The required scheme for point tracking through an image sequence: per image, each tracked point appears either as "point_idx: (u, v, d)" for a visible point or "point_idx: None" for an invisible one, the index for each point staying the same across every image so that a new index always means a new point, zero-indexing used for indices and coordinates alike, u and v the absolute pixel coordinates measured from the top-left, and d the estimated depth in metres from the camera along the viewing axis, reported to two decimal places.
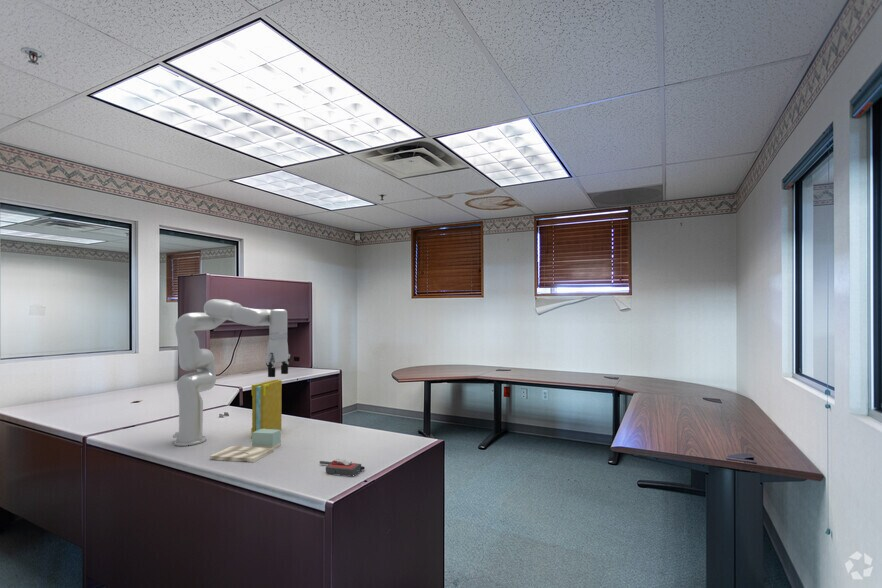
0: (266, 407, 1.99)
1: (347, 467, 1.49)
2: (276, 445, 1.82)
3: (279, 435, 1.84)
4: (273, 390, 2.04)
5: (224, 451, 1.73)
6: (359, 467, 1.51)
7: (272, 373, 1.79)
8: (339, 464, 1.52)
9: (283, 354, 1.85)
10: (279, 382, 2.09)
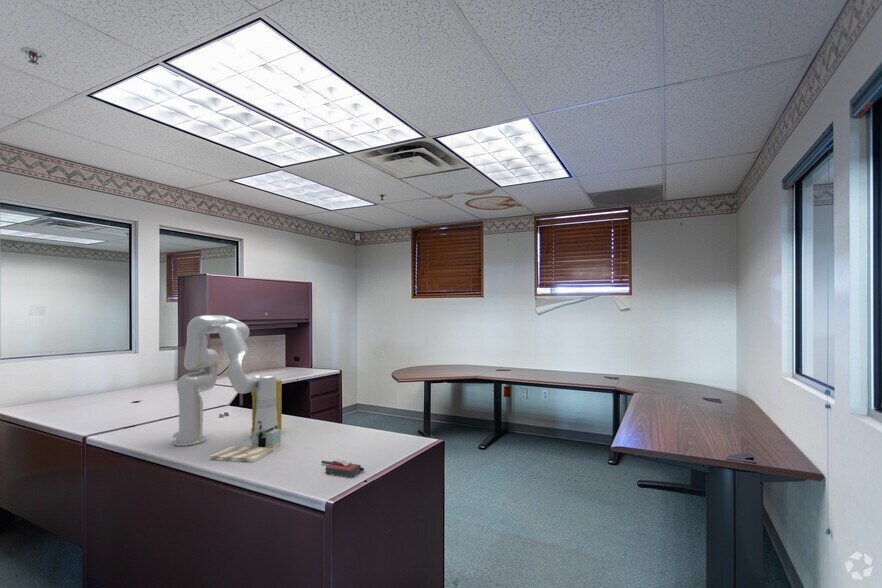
0: None
1: (346, 468, 1.48)
2: (276, 445, 1.82)
3: (279, 435, 1.84)
4: None
5: (224, 451, 1.73)
6: (358, 468, 1.50)
7: (262, 443, 1.79)
8: (339, 464, 1.51)
9: (271, 421, 1.83)
10: (279, 382, 2.09)
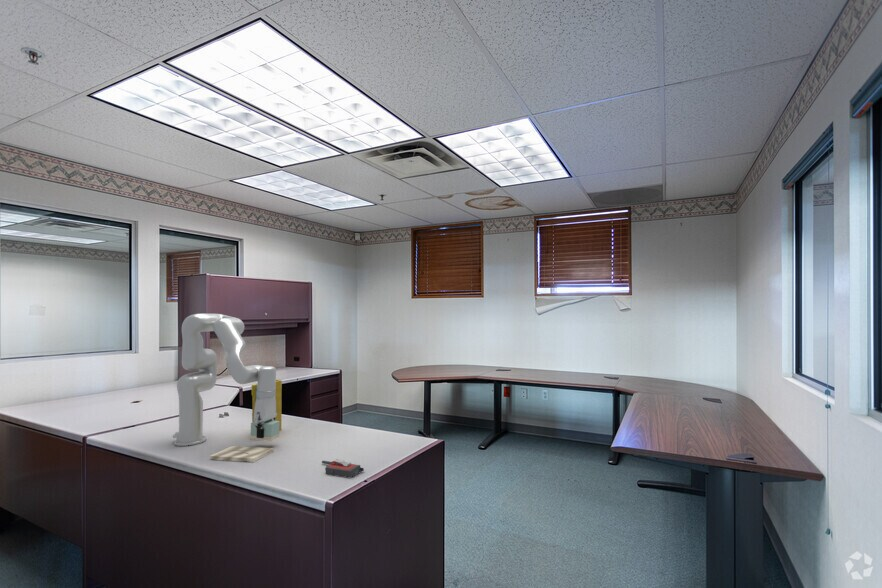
0: None
1: (345, 468, 1.48)
2: (275, 436, 1.82)
3: (278, 426, 1.85)
4: None
5: (224, 451, 1.73)
6: (358, 468, 1.50)
7: (261, 434, 1.79)
8: (338, 465, 1.51)
9: (270, 412, 1.84)
10: (279, 382, 2.09)
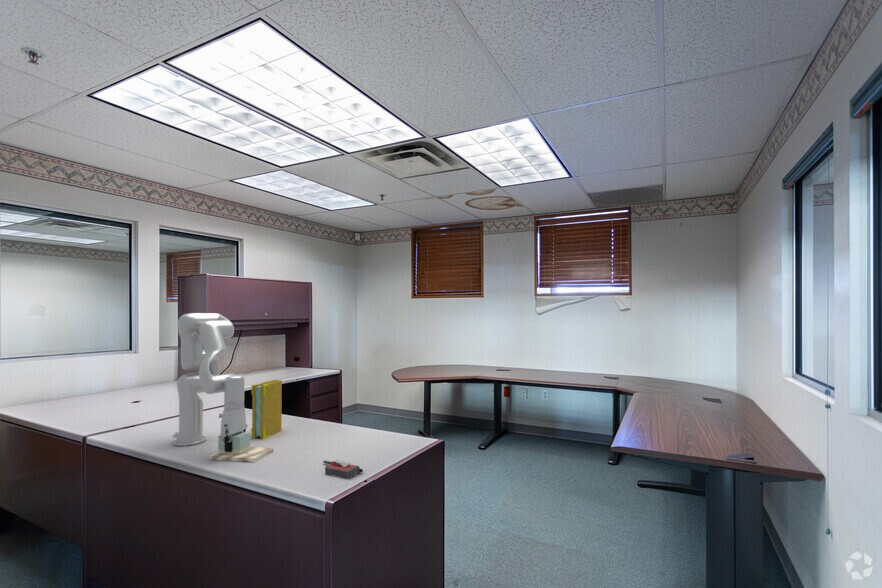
0: (266, 407, 1.99)
1: (344, 469, 1.47)
2: (244, 449, 1.72)
3: (248, 438, 1.74)
4: (273, 390, 2.04)
5: None
6: (357, 469, 1.49)
7: (229, 448, 1.69)
8: (338, 465, 1.51)
9: (239, 424, 1.73)
10: (279, 382, 2.09)
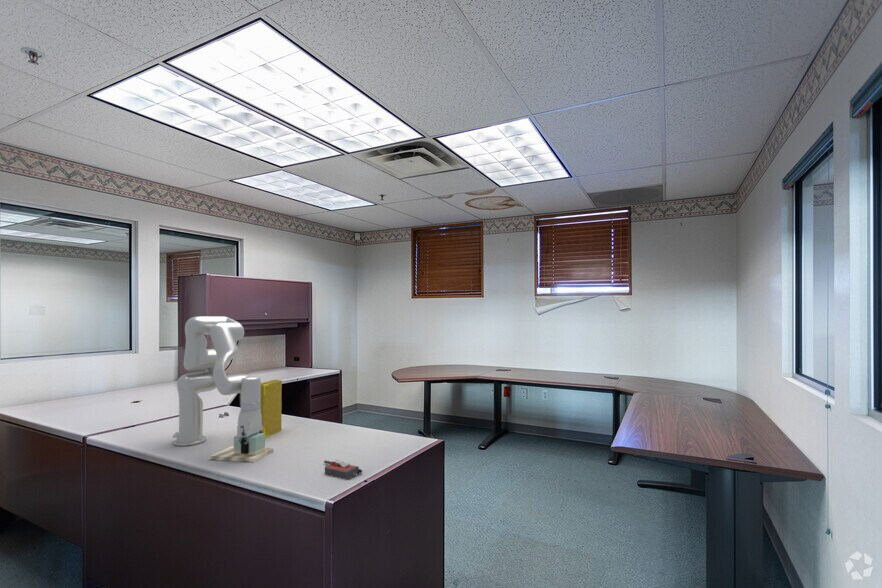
0: (266, 407, 1.99)
1: (343, 469, 1.47)
2: (260, 450, 1.70)
3: (263, 439, 1.72)
4: (273, 390, 2.04)
5: (224, 451, 1.73)
6: (356, 470, 1.48)
7: (245, 450, 1.67)
8: (337, 465, 1.50)
9: (256, 426, 1.71)
10: (279, 382, 2.09)
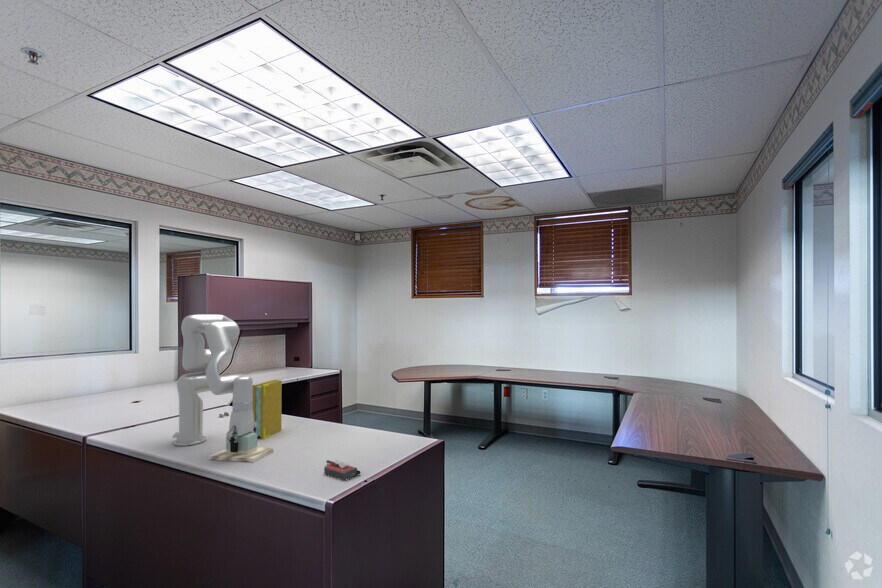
0: (266, 407, 1.99)
1: (341, 470, 1.46)
2: (252, 449, 1.71)
3: (255, 439, 1.73)
4: (273, 390, 2.04)
5: (224, 451, 1.73)
6: (354, 471, 1.47)
7: (234, 448, 1.67)
8: (336, 466, 1.50)
9: (248, 425, 1.72)
10: (279, 382, 2.09)
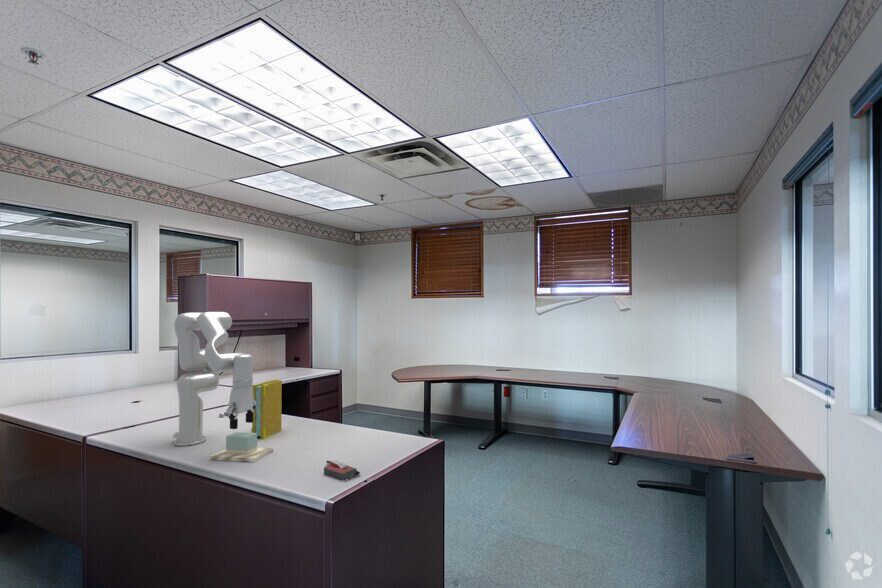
0: (266, 407, 1.99)
1: (340, 470, 1.46)
2: (252, 449, 1.71)
3: (255, 439, 1.73)
4: (273, 390, 2.04)
5: (224, 451, 1.73)
6: (353, 472, 1.47)
7: (234, 425, 1.67)
8: (336, 466, 1.50)
9: (247, 403, 1.73)
10: (279, 382, 2.09)
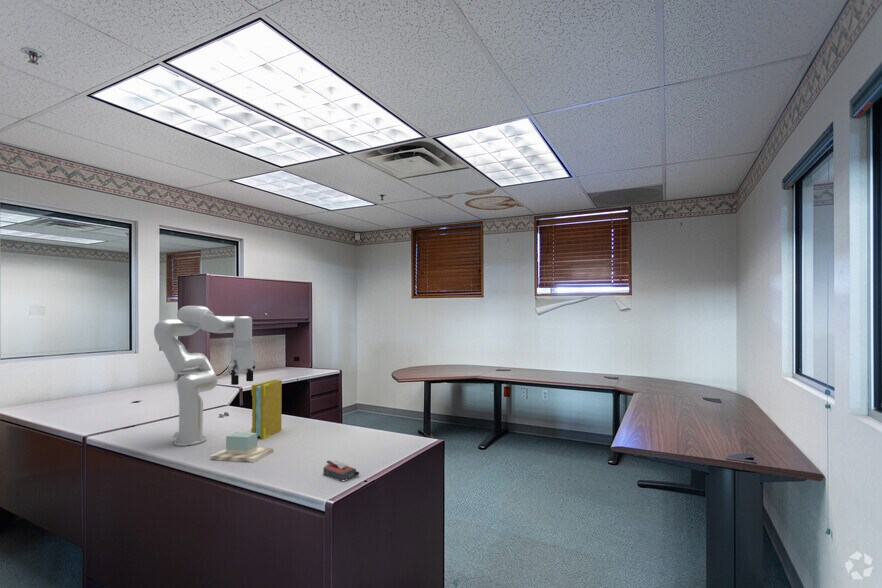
0: (266, 407, 1.99)
1: (339, 471, 1.45)
2: (252, 449, 1.71)
3: (255, 439, 1.73)
4: (273, 390, 2.04)
5: (224, 451, 1.73)
6: (352, 472, 1.46)
7: (235, 381, 1.78)
8: (335, 466, 1.49)
9: (247, 361, 1.84)
10: (279, 382, 2.09)
